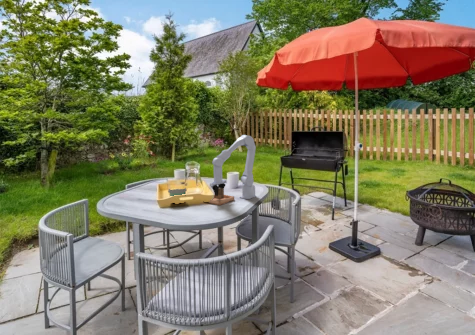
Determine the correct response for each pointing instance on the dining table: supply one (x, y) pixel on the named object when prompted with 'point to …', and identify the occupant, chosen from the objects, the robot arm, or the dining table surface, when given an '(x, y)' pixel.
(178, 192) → the food container
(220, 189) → the walnut block
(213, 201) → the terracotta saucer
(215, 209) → the dining table surface
